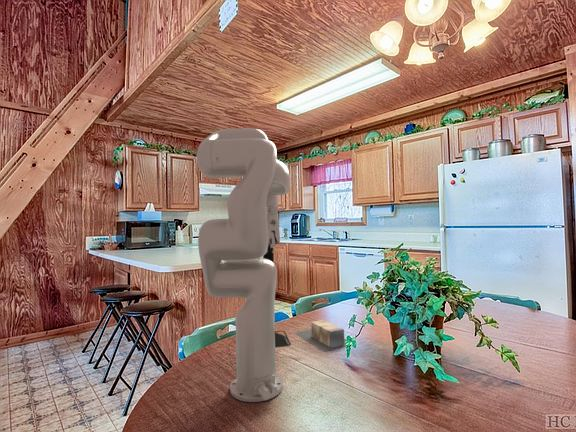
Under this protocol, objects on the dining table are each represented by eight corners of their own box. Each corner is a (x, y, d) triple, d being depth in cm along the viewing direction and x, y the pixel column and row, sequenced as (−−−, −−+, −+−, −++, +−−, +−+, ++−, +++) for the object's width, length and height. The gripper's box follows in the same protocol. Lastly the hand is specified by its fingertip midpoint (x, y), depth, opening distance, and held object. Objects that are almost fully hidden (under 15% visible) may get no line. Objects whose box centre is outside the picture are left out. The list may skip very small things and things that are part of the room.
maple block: (323, 334, 112) (344, 344, 102) (311, 336, 110) (331, 347, 99) (323, 319, 112) (343, 329, 102) (311, 322, 110) (331, 331, 99)
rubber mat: (355, 346, 102) (355, 344, 102) (324, 353, 96) (324, 351, 96) (321, 328, 120) (321, 327, 120) (293, 334, 114) (293, 332, 114)
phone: (284, 330, 117) (291, 345, 102) (284, 333, 117) (291, 348, 102) (262, 332, 115) (267, 347, 101) (262, 335, 115) (267, 350, 101)
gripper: (285, 210, 107) (286, 265, 106) (269, 214, 120) (270, 262, 119) (265, 210, 104) (266, 266, 102) (250, 213, 117) (251, 263, 116)
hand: (268, 264), depth 111 cm, fingers closed
